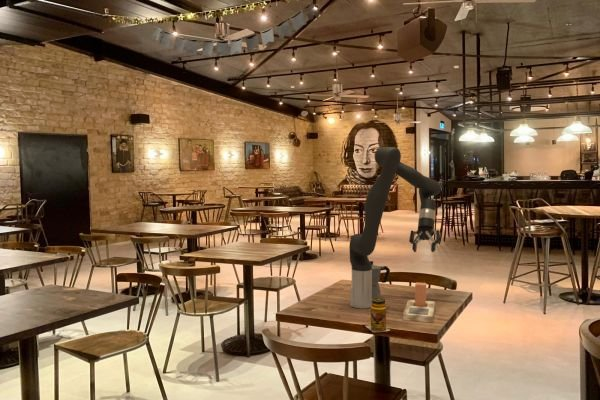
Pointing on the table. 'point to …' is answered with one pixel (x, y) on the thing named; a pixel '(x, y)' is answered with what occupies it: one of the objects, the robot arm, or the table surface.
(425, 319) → the puzzle board
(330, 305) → the table surface
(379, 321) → the condiment
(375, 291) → the coffeepot
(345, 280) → the table surface
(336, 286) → the table surface
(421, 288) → the block
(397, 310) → the table surface
